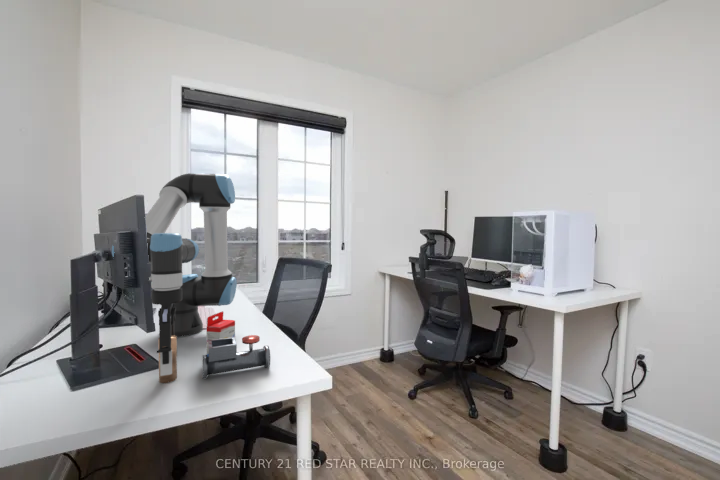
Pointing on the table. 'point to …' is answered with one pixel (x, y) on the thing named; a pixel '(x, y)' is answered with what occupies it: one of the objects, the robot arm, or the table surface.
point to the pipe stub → (174, 362)
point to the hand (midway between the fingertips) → (167, 368)
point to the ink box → (219, 328)
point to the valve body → (234, 356)
